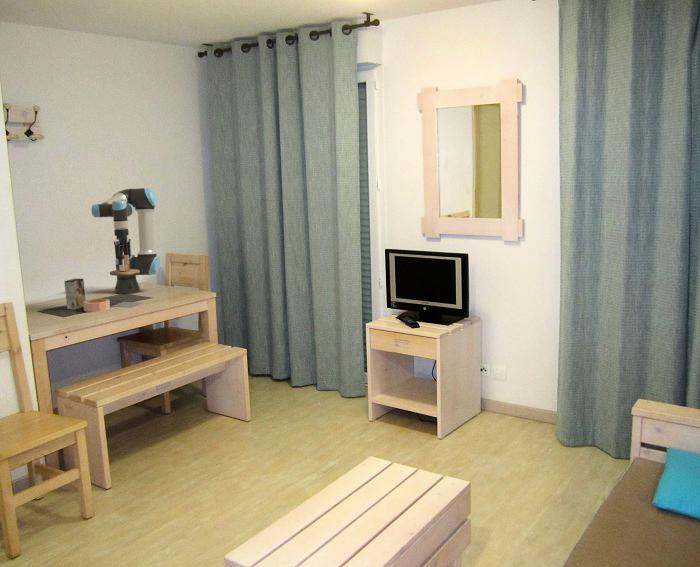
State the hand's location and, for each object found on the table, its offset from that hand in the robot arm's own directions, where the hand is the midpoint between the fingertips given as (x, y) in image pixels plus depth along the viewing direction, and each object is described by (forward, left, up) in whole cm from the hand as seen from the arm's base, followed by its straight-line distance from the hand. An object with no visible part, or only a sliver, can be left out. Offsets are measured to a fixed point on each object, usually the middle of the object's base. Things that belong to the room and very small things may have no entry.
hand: (124, 269), depth 387 cm
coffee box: (+10, -26, -21) cm, 35 cm away
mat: (0, 0, -20) cm, 20 cm away
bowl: (+14, -10, -20) cm, 27 cm away
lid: (0, 0, -2) cm, 2 cm away
